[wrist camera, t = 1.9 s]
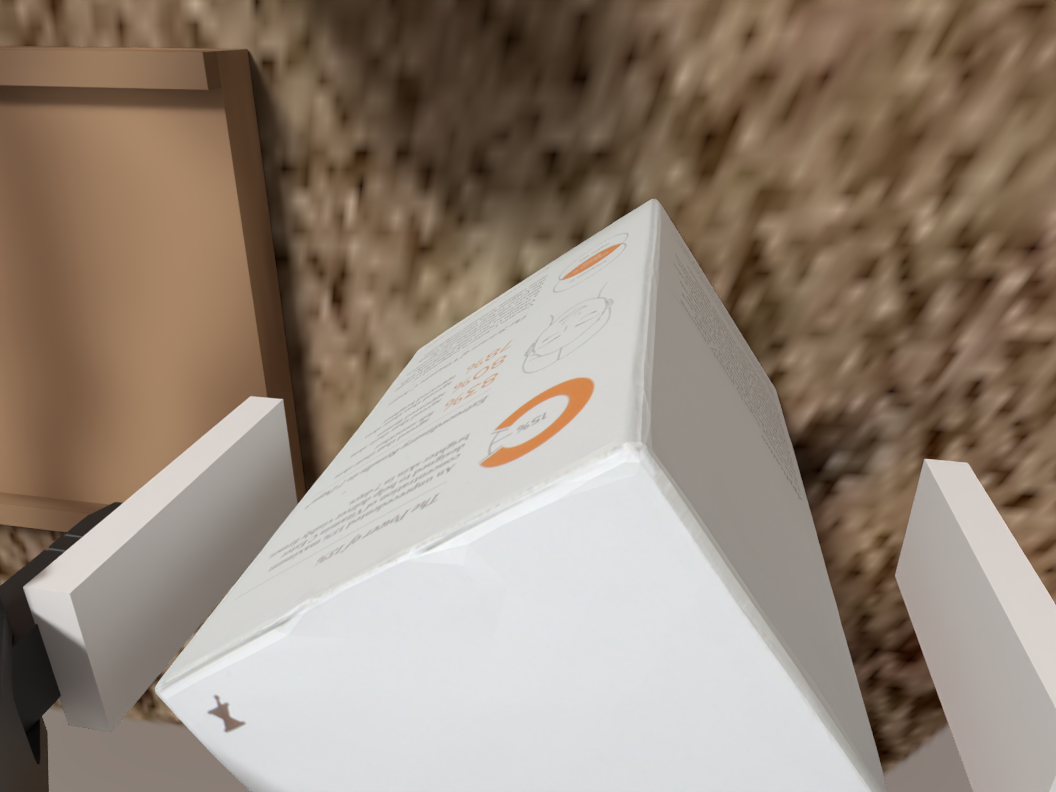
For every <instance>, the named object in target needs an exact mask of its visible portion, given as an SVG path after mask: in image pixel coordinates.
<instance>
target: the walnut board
mask: <svg viewBox="0 0 1056 792" xmlns="http://www.w3.org/2000/svg"><path fill="white" fill-rule="evenodd" d="M250 396H255V397H265V398H276V399H283V403H284V410H285V417H286V424H287V432H288V439H289V446H290V453H291V461H292V468H293V475H294V482H295V489H296V497H297V504H298V503H299V502H300V501H301V500H302V498H303V497H304V496H305V494H306V488H305V481H304V473H303V466H302V458H301V451H300V443H299V435H298V428H297V420H296V413H295V405H294V397H293V390H292V382H291V375H290V367H289V360H288V352H287V344H286V337H285V329H284V322H283V314H282V307H281V299H280V291H279V284H278V276H277V269H276V261H275V253H274V246H273V238H272V231H271V223H270V216H269V208H268V200H267V193H266V185H265V178H264V170H263V163H262V155H261V147H260V140H259V132H258V125H257V117H256V109H255V102H254V94H253V87H252V79H251V72H250V64H249V56H248V49H188V48H115V47H41V46H0V524H2V525H10V526H19V527H27V528H35V529H44V530H52V531H61V532H68V531H69V530H70V529H71V528H73V527H74V526H75V525H76V524H78V523H79V522H80V521H81V520H82V519H84V518H85V517H86V516H88V515H90V514H92V513H94V512H96V511H98V510H100V509H102V508H104V507H106V506H108V505H110V504H112V503H114V502H121V503H124V502H125V501H126V500H127V499H128V498H130V497H131V496H132V495H133V494H134V493H136V492H137V491H138V490H139V489H140V488H142V487H143V486H144V485H145V484H146V483H148V482H149V481H150V480H151V479H152V478H153V477H155V476H156V475H157V474H158V473H159V472H161V471H162V470H163V469H164V468H165V467H167V466H168V465H169V464H170V463H171V462H173V461H174V460H175V459H176V458H177V457H179V456H180V455H181V454H182V453H183V452H184V451H186V450H187V449H188V448H189V447H190V446H192V445H193V444H194V443H195V442H196V441H198V440H199V439H200V438H201V437H202V436H204V435H205V434H206V433H207V432H208V431H210V430H211V429H212V428H213V427H214V426H216V425H217V424H218V423H219V422H220V421H221V420H223V419H224V418H225V417H226V416H227V415H229V414H230V413H231V412H232V411H233V410H235V409H236V408H237V407H238V406H239V405H241V404H242V403H243V402H244V401H245V400H247V399H248V398H249V397H250ZM264 547H265V546H264ZM260 552H261V551H260Z"/></svg>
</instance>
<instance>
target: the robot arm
mask: <svg viewBox="0 0 1056 792" xmlns="http://www.w3.org/2000/svg"><path fill="white" fill-rule="evenodd" d="M297 505H298V504H297V497H296V489H295V482H294V475H293V468H292V461H291V453H290V446H289V439H288V432H287V424H286V417H285V410H284V403H283V399H276V398H265V397H255V396H250V397H249V398H248V399H247V400H245V401H244V402H243V403H242V404H241V405H239V406H238V407H237V408H236V409H235V410H233V411H232V412H231V413H230V414H229V415H227V416H226V417H225V418H224V419H223V420H221V421H220V422H219V423H218V424H217V425H216V426H214V427H213V428H212V429H211V430H210V431H208V432H207V433H206V434H205V435H204V436H202V437H201V438H200V439H199V440H198V441H196V442H195V443H194V444H193V445H192V446H190V447H189V448H188V449H187V450H186V451H184V452H183V453H182V454H181V455H180V456H179V457H177V458H176V459H175V460H174V461H173V462H171V463H170V464H169V465H168V466H167V467H165V468H164V469H163V470H162V471H161V472H159V473H158V474H157V475H156V476H155V477H153V478H152V479H151V480H150V481H149V482H148V483H146V484H145V485H144V486H143V487H142V488H140V489H139V490H138V491H137V492H136V493H134V494H133V495H132V496H131V497H130V498H128V499H127V500H126V501H125V502H124V503H121V502H114V503H112V504H110V505H108V506H106V507H104V508H102V509H100V510H98V511H96V512H94V513H92V514H90V515H88V516H86V517H85V518H84V519H82V520H81V521H80V522H79V523H78V524H76V525H75V526H74V527H73V528H71V529H70V530H69V531H68V532H66V536H61V537H60V538H59V539H58V540H57V541H55V542H54V543H53V544H52V545H50V546H49V550H48V551H47V550H44V551H43V552H42V553H40V554H39V555H38V556H37V557H36V558H34V559H33V560H32V561H31V562H29V563H28V564H27V565H26V566H24V567H23V568H22V569H21V570H19V571H18V572H17V573H16V574H15V575H13V576H12V577H11V578H10V579H8V580H7V581H6V582H5V583H3V584H2V585H1V586H0V792H49V785H48V743H47V742H48V740H47V730H46V727H45V724H44V721H43V718H42V715H43V714H44V713H45V712H46V711H47V710H48V709H49V708H50V707H51V706H52V705H53V704H54V703H55V702H56V701H57V699H58V698H60V701H61V704H62V707H63V710H64V713H65V716H66V719H67V722H68V725H71V726H76V727H82V728H88V729H94V730H99V731H105V732H112V731H113V730H114V729H115V727H116V726H117V725H118V724H119V723H120V721H121V720H122V719H123V718H124V717H125V715H126V714H127V713H128V712H129V710H130V709H131V708H132V707H133V706H134V704H135V703H136V702H137V701H138V700H139V698H140V697H141V696H142V695H143V693H144V692H145V691H146V690H147V689H148V687H149V686H150V685H151V684H152V683H153V681H154V680H155V679H156V678H157V676H158V675H159V674H160V673H161V672H162V670H163V669H164V668H165V667H166V666H167V664H168V663H169V662H170V661H171V659H172V658H173V657H174V656H175V655H176V653H177V652H178V651H179V650H180V649H181V647H182V646H183V645H184V644H185V642H186V641H187V640H188V639H189V638H190V636H191V635H192V634H193V633H194V632H195V630H196V629H197V628H198V627H199V625H200V624H201V623H202V622H203V621H204V619H205V618H206V617H207V616H208V615H209V613H210V612H211V611H212V610H213V608H214V607H215V606H216V605H217V604H218V602H219V601H220V600H221V599H222V598H223V596H224V595H225V594H226V593H227V591H228V590H229V589H230V588H231V587H232V585H233V584H234V583H235V582H236V580H237V579H238V578H239V577H240V576H241V574H242V573H243V572H244V571H245V570H246V568H247V567H248V566H249V565H250V563H251V562H252V561H253V560H254V559H255V557H256V556H257V555H258V554H259V553H260V551H261V550H262V549H263V548H264V546H265V545H266V544H267V543H268V541H269V540H270V539H271V537H272V536H273V535H274V534H275V532H276V531H277V530H278V528H279V527H280V526H281V525H282V523H283V522H284V521H285V520H286V518H287V517H288V516H289V515H290V513H291V512H292V511H293V510H294V508H295V507H296V506H297ZM895 577H896V580H897V583H898V586H899V588H900V591H901V594H902V597H903V599H904V602H905V605H906V608H907V610H908V613H909V616H910V619H911V622H912V624H913V627H914V630H915V633H916V635H917V638H918V641H919V644H920V646H921V649H922V652H923V655H924V658H925V660H926V663H927V666H928V669H929V671H930V674H931V677H932V680H933V682H934V685H935V688H936V691H937V694H938V696H939V699H940V702H941V705H942V707H943V710H944V713H945V716H946V718H947V721H948V724H949V727H950V729H951V732H952V735H953V738H954V741H955V743H956V746H957V749H958V752H959V754H960V757H961V760H962V763H963V765H964V768H965V771H966V774H967V776H968V779H969V782H970V785H971V788H972V790H973V792H1056V605H1055V603H1054V601H1053V600H1052V598H1051V596H1050V595H1049V593H1048V592H1047V590H1046V588H1045V587H1044V585H1043V584H1042V582H1041V580H1040V579H1039V577H1038V575H1037V574H1036V572H1035V571H1034V569H1033V567H1032V566H1031V564H1030V563H1029V561H1028V559H1027V558H1026V556H1025V555H1024V553H1023V551H1022V550H1021V548H1020V546H1019V545H1018V543H1017V542H1016V540H1015V538H1014V537H1013V535H1012V534H1011V532H1010V530H1009V529H1008V527H1007V525H1006V524H1005V522H1004V521H1003V519H1002V517H1001V516H1000V514H999V513H998V511H997V509H996V508H995V506H994V504H993V503H992V501H991V500H990V498H989V496H988V495H987V493H986V492H985V490H984V488H983V487H982V485H981V483H980V482H979V480H978V479H977V477H976V475H975V474H974V472H973V471H972V469H971V467H970V466H969V464H968V463H964V462H953V461H943V460H932V459H924V463H923V467H922V471H921V475H920V479H919V483H918V486H917V490H916V494H915V498H914V502H913V506H912V510H911V514H910V518H909V522H908V526H907V530H906V534H905V538H904V542H903V546H902V550H901V554H900V558H899V562H898V566H897V570H896V574H895Z"/></svg>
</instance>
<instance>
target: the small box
mask: <svg viewBox="0 0 1056 792" xmlns="http://www.w3.org/2000/svg"><path fill="white" fill-rule="evenodd" d="M155 693H156V694H157V695H158V696H159V697H160V698H161V699H162V700H163V702H164V703H165V704H166V705H167V706H168V707H169V708H170V709H171V710H172V711H173V712H174V714H175V715H176V716H177V717H178V718H179V719H180V720H181V721H182V722H183V723H184V724H185V725H186V727H187V728H188V729H189V730H190V731H191V732H192V733H193V734H194V735H195V736H196V737H197V738H198V739H199V740H200V741H201V742H202V743H203V745H204V746H205V747H206V748H207V749H208V750H209V751H210V752H211V753H212V754H213V755H214V756H215V757H216V758H217V759H218V760H219V761H220V762H221V763H222V764H223V765H224V766H225V767H226V768H227V769H228V770H229V771H230V772H231V773H232V774H233V775H234V776H235V777H236V778H237V779H238V780H239V781H240V782H241V783H242V784H243V785H244V786H245V787H246V788H247V789H248V790H249V791H250V792H888V791H887V787H886V783H885V779H884V775H883V771H882V767H881V763H880V760H879V756H878V752H877V748H876V744H875V741H874V737H873V734H872V730H871V727H870V723H869V720H868V716H867V713H866V709H865V706H864V702H863V699H862V695H861V692H860V688H859V685H858V681H857V678H856V674H855V670H854V667H853V663H852V660H851V656H850V652H849V649H848V645H847V641H846V638H845V635H844V631H843V628H842V625H841V621H840V617H839V612H838V608H837V605H836V601H835V598H834V594H833V591H832V588H831V584H830V581H829V577H828V574H827V570H826V566H825V562H824V559H823V555H822V552H821V548H820V544H819V541H818V537H817V533H816V530H815V526H814V522H813V518H812V515H811V511H810V508H809V504H808V501H807V497H806V493H805V490H804V486H803V482H802V479H801V475H800V472H799V468H798V464H797V461H796V457H795V454H794V450H793V447H792V443H791V440H790V437H789V434H788V430H787V427H786V423H785V420H784V416H783V412H782V409H781V405H780V402H779V399H778V395H777V391H776V389H775V387H774V386H773V384H772V383H771V381H770V379H769V378H768V376H767V375H766V373H765V371H764V370H763V368H762V367H761V365H760V363H759V362H758V360H757V359H756V357H755V355H754V354H753V352H752V350H751V349H750V347H749V346H748V344H747V342H746V341H745V339H744V338H743V336H742V334H741V333H740V331H739V329H738V328H737V326H736V325H735V323H734V321H733V320H732V318H731V317H730V315H729V313H728V312H727V310H726V308H725V307H724V305H723V304H722V302H721V300H720V299H719V297H718V295H717V294H716V292H715V291H714V289H713V287H712V286H711V284H710V282H709V281H708V279H707V278H706V276H705V274H704V273H703V271H702V269H701V268H700V266H699V265H698V263H697V261H696V260H695V258H694V257H693V255H692V253H691V252H690V250H689V249H688V247H687V245H686V244H685V242H684V240H683V239H682V237H681V236H680V234H679V232H678V231H677V229H676V228H675V226H674V224H673V223H672V221H671V219H670V218H669V216H668V215H667V213H666V211H665V210H664V208H663V207H662V205H661V204H660V202H659V201H658V200H656V199H651V200H649V201H648V202H646V203H644V204H643V205H641V206H640V207H638V208H636V209H635V210H633V211H632V212H630V213H628V214H627V215H625V216H623V217H622V218H620V219H619V220H617V221H615V222H614V223H612V224H611V225H609V226H608V227H606V228H604V229H603V230H601V231H600V232H598V233H596V234H595V235H593V236H592V237H590V238H589V239H587V240H585V241H584V242H582V243H581V244H579V245H578V246H576V247H574V248H573V249H571V250H570V251H568V252H567V253H565V254H564V255H562V256H560V257H559V258H557V259H556V260H554V261H553V262H551V263H550V264H548V265H546V266H545V267H543V268H542V269H540V270H539V271H537V272H536V273H534V274H533V275H531V276H530V277H528V278H526V279H525V280H523V281H522V282H520V283H519V284H517V285H516V286H514V287H513V288H511V289H510V290H508V291H506V292H505V293H503V294H502V295H500V296H499V297H497V298H496V299H494V300H493V301H491V302H490V303H488V304H486V305H485V306H483V307H482V308H480V309H479V310H477V311H476V312H474V313H473V314H471V315H470V316H468V317H466V318H465V319H463V320H462V321H460V322H459V323H457V324H456V325H454V326H453V327H451V328H450V329H448V330H447V331H445V332H444V333H442V334H441V335H439V336H438V337H436V338H435V339H434V340H432V341H431V342H429V343H428V344H426V345H425V346H423V347H422V348H420V349H419V350H418V351H417V352H416V354H415V355H414V357H413V358H412V359H411V361H410V362H409V363H408V365H407V366H406V367H405V368H404V369H403V371H402V372H401V373H400V375H399V376H398V377H397V379H396V380H395V381H394V382H393V384H392V385H391V386H390V388H389V389H388V390H387V392H386V393H385V395H384V396H383V397H382V399H381V400H380V401H379V403H378V404H377V405H376V407H375V408H374V409H373V411H372V412H371V413H370V415H369V416H368V417H367V418H366V420H365V421H364V422H363V423H362V425H361V426H360V427H359V429H358V430H357V431H356V432H355V434H354V435H353V436H352V437H351V439H350V440H349V441H348V442H347V444H346V445H345V446H344V447H343V449H342V450H341V451H340V452H339V454H338V455H337V456H336V457H335V459H334V460H333V461H332V462H331V464H330V465H329V466H328V467H327V469H326V470H325V471H324V472H323V473H322V475H321V476H320V477H319V478H318V480H317V481H316V482H315V483H314V484H313V486H312V487H311V488H310V489H309V491H308V492H307V493H306V494H305V496H304V497H303V498H302V500H301V501H300V502H299V503H298V505H297V506H296V507H295V508H294V510H293V511H292V512H291V513H290V515H289V516H288V517H287V518H286V520H285V521H284V522H283V523H282V525H281V526H280V527H279V528H278V530H277V531H276V532H275V534H274V535H273V536H272V537H271V539H270V540H269V541H268V543H267V544H266V545H265V547H264V548H263V549H262V550H261V552H260V553H259V554H258V556H257V557H256V558H255V559H254V561H253V562H252V563H251V564H250V566H249V567H248V568H247V569H246V571H245V572H244V573H243V575H242V576H241V577H240V578H239V580H238V581H237V582H236V583H235V585H234V586H233V587H232V588H231V590H230V591H229V592H228V594H227V595H226V596H225V597H224V599H223V600H222V601H221V602H220V604H219V605H218V606H217V608H216V609H215V610H214V611H213V613H212V614H211V615H210V616H209V618H208V619H207V620H206V622H205V623H204V624H203V625H202V627H201V628H200V629H199V631H198V632H197V633H196V635H195V636H194V637H193V638H192V640H191V641H190V642H189V644H188V645H187V646H186V647H185V649H184V650H183V651H182V652H181V654H180V655H179V656H178V657H177V659H176V660H175V661H174V662H173V664H172V665H171V666H170V668H169V669H168V670H167V672H166V673H165V674H164V675H163V677H162V678H161V679H160V681H159V682H158V683H157V685H156V687H155Z"/></svg>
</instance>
